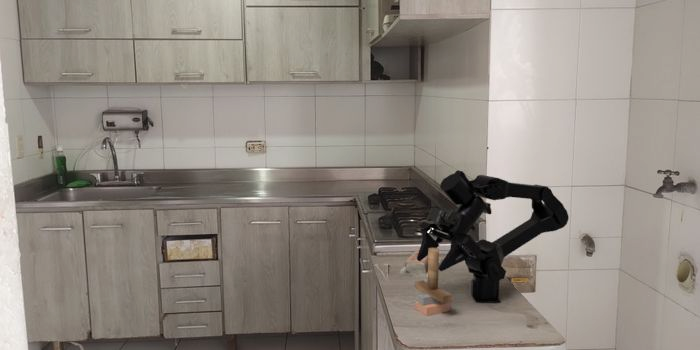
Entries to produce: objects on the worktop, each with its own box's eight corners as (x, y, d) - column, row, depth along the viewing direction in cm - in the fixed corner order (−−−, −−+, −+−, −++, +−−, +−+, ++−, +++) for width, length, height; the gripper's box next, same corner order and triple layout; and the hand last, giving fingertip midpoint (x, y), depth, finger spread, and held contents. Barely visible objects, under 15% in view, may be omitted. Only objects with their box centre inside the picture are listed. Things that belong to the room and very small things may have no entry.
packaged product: (431, 263, 165) (398, 260, 169) (431, 279, 166) (398, 276, 169) (443, 247, 182) (413, 245, 185) (443, 262, 183) (412, 259, 186)
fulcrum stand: (437, 304, 146) (438, 289, 145) (449, 310, 141) (450, 295, 141) (414, 308, 142) (415, 293, 142) (426, 315, 138) (426, 300, 137)
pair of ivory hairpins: (373, 267, 178) (373, 261, 178) (388, 267, 179) (388, 261, 178) (380, 290, 161) (381, 283, 161) (397, 289, 162) (397, 283, 161)
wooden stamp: (423, 286, 147) (423, 242, 145) (451, 301, 137) (453, 254, 135) (414, 287, 146) (415, 243, 144) (443, 303, 135) (444, 255, 134)
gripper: (425, 190, 148) (388, 236, 144) (472, 202, 131) (432, 255, 128) (449, 216, 152) (414, 262, 149) (497, 231, 136) (459, 283, 133)
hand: (428, 265), depth 139 cm, fingers open, 9 cm apart
